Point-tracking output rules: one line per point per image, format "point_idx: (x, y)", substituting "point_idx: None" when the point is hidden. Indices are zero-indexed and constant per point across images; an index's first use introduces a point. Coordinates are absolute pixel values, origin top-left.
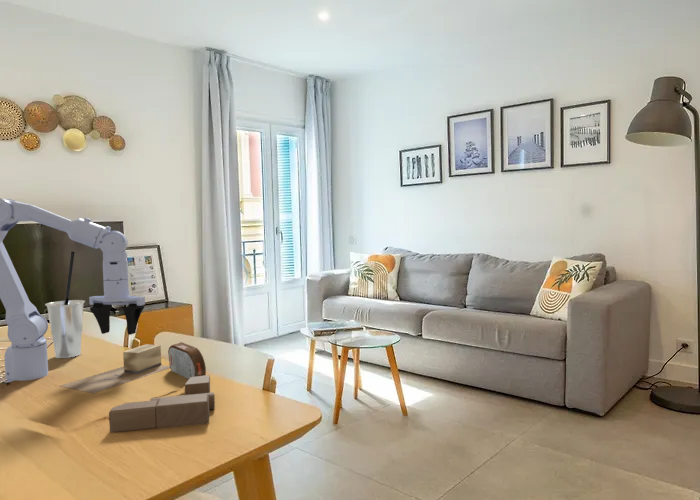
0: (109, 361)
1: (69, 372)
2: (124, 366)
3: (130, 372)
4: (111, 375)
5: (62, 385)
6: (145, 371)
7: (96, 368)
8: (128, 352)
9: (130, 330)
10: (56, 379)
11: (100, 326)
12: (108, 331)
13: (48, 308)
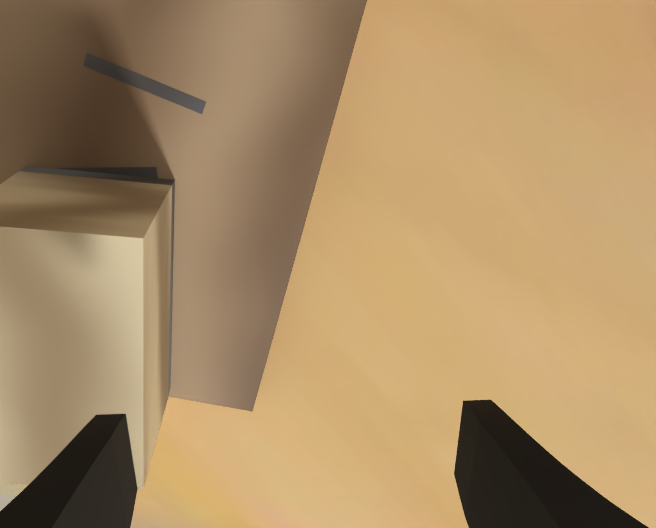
0: None
1: (651, 197)
2: (161, 192)
3: (112, 174)
4: (207, 82)
5: None
6: None
7: (516, 304)
8: (74, 231)
9: (68, 446)
10: (653, 30)
11: (522, 446)
12: (458, 472)
13: None
